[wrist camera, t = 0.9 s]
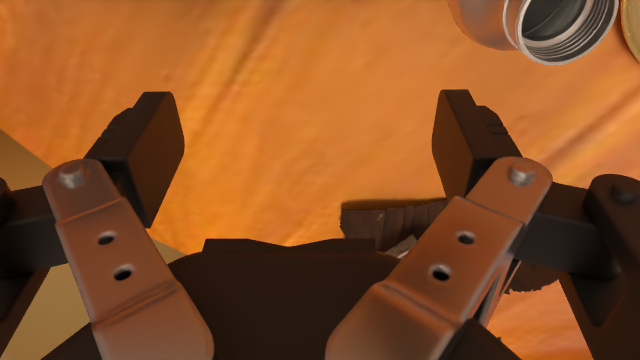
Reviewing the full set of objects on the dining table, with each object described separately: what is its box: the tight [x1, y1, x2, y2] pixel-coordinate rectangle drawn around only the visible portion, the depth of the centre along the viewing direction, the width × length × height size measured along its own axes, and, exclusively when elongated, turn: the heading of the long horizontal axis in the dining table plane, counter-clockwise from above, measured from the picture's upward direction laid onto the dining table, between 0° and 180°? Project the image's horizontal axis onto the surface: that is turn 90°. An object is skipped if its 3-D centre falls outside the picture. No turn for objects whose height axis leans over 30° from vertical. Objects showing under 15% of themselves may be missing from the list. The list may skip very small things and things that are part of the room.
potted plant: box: [340, 200, 558, 341], centre depth 45 cm, size 20×19×25 cm
